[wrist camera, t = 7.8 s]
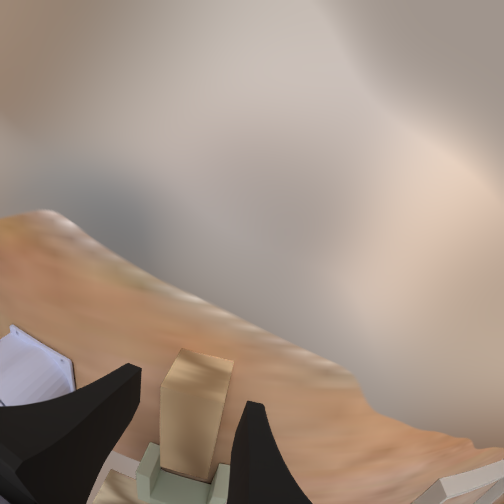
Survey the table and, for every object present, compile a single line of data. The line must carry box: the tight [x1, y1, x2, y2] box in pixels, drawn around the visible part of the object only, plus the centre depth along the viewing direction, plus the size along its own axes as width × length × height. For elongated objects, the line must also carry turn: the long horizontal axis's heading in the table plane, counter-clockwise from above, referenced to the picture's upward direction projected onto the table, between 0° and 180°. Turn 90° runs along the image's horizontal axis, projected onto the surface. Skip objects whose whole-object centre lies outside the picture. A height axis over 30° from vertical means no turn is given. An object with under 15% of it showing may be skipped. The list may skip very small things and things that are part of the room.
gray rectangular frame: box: [411, 459, 504, 504], centre depth 23 cm, size 32×21×4 cm, turn 75°
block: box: [136, 442, 230, 504], centre depth 21 cm, size 9×8×4 cm
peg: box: [160, 348, 234, 479], centre depth 19 cm, size 4×10×5 cm, turn 168°
